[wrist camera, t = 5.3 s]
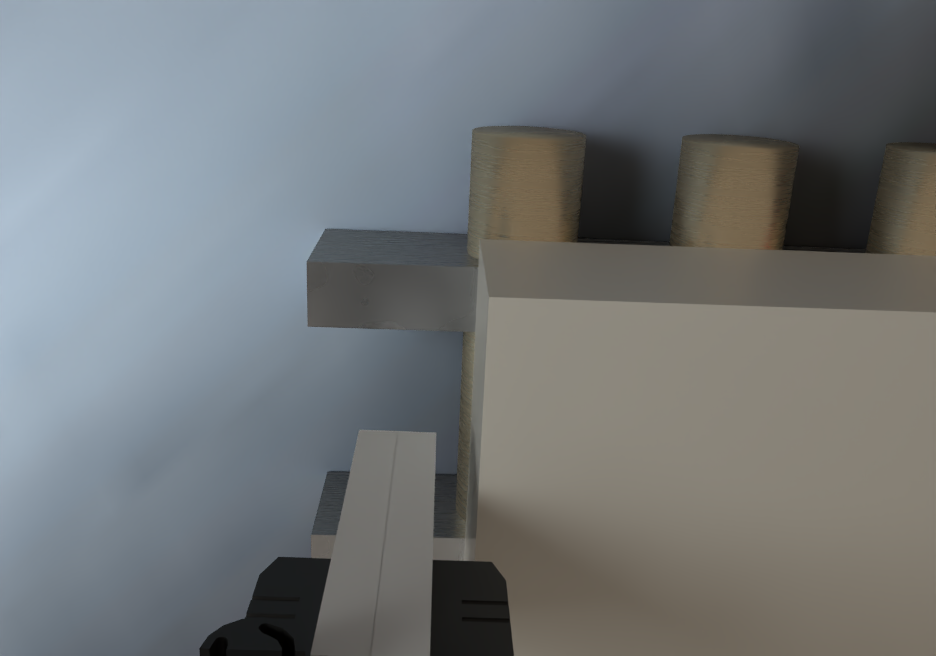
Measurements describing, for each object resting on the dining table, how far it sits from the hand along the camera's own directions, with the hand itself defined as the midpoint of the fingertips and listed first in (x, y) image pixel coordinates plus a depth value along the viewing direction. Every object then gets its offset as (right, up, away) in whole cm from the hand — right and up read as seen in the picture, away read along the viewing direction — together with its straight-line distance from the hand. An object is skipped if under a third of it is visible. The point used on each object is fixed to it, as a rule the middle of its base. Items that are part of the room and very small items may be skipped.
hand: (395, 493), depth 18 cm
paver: (+7, +1, +2) cm, 8 cm away
